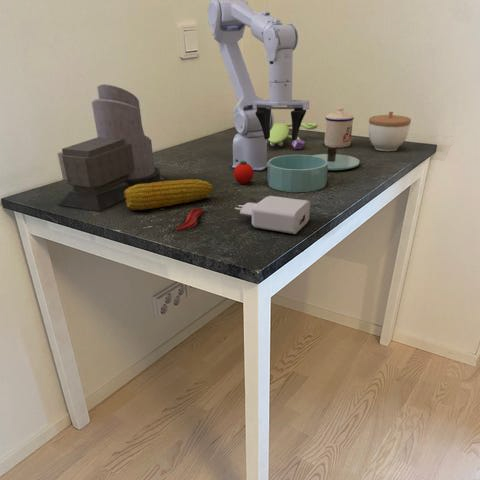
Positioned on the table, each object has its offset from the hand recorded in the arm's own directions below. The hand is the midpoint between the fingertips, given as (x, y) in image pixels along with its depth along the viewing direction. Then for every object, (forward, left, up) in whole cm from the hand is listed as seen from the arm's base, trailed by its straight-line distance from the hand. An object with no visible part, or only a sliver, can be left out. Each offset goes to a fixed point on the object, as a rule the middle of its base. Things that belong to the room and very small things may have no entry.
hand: (280, 139), depth 125 cm
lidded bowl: (+20, +42, -10) cm, 48 cm away
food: (-16, -31, -10) cm, 36 cm away
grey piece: (-35, -26, -10) cm, 44 cm away
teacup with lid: (+4, +43, -10) cm, 44 cm away
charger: (+10, -33, -10) cm, 36 cm away
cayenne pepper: (-6, -38, -10) cm, 40 cm away
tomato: (-7, -9, -7) cm, 13 cm away
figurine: (-14, +39, -10) cm, 43 cm away
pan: (+6, -4, -10) cm, 12 cm away
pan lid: (+9, +17, -9) cm, 21 cm away
